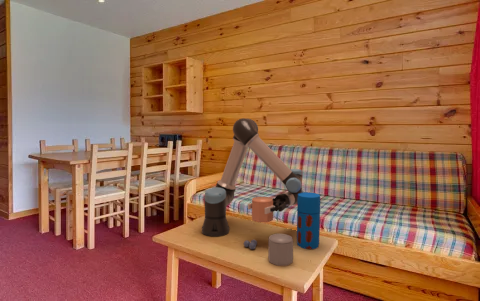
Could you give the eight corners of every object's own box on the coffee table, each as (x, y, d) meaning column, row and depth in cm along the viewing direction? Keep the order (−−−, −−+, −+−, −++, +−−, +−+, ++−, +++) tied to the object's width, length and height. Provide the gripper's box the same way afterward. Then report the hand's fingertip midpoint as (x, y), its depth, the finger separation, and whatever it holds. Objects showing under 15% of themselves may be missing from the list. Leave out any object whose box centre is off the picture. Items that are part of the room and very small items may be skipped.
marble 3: (247, 249, 138) (247, 242, 138) (252, 247, 141) (252, 240, 141) (252, 251, 136) (252, 244, 136) (257, 249, 139) (257, 242, 138)
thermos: (320, 250, 138) (321, 198, 135) (296, 248, 139) (297, 197, 137) (317, 241, 148) (319, 192, 146) (296, 239, 150) (297, 191, 148)
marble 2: (249, 246, 142) (249, 239, 142) (253, 244, 144) (253, 238, 144) (254, 248, 140) (254, 241, 139) (258, 246, 142) (258, 239, 142)
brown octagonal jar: (264, 260, 127) (264, 237, 126) (277, 253, 134) (278, 231, 134) (283, 268, 120) (283, 244, 119) (296, 260, 127) (297, 237, 127)
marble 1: (242, 247, 141) (242, 240, 141) (246, 245, 143) (246, 238, 143) (247, 249, 139) (247, 242, 138) (251, 246, 141) (251, 240, 141)
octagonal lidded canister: (247, 219, 144) (247, 199, 143) (261, 214, 151) (261, 195, 150) (263, 223, 137) (263, 202, 136) (276, 218, 144) (276, 199, 143)
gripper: (302, 211, 149) (275, 221, 133) (267, 203, 164) (240, 211, 149) (302, 197, 148) (275, 205, 132) (268, 190, 164) (240, 197, 148)
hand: (256, 208), depth 141 cm, fingers closed on octagonal lidded canister, 10 cm apart
